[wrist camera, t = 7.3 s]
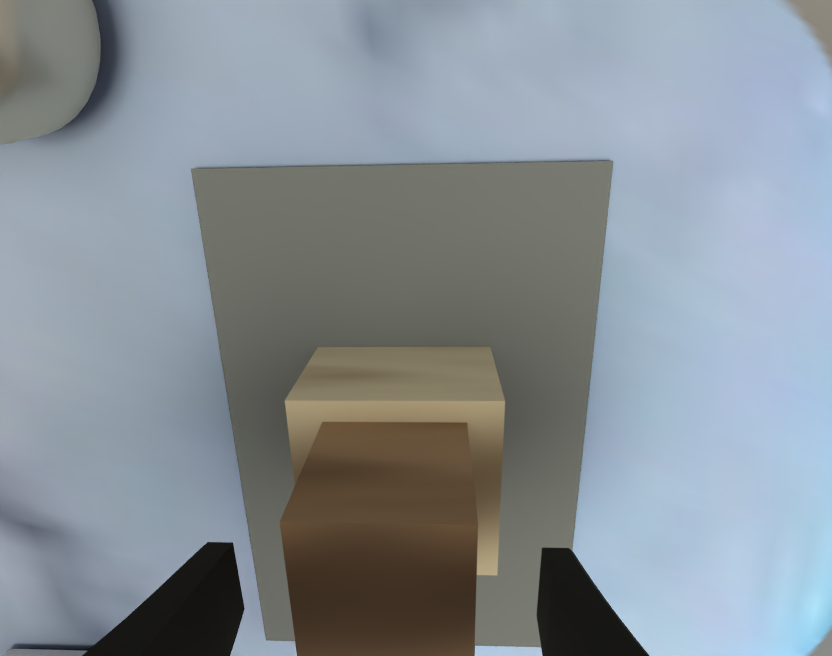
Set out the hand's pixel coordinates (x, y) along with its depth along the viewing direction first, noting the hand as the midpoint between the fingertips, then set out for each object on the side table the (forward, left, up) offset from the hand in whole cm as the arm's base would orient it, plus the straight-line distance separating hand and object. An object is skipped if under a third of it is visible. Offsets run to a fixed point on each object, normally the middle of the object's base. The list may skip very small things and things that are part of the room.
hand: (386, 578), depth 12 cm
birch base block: (0, 0, -7) cm, 7 cm away
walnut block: (0, 0, -3) cm, 3 cm away
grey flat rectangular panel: (-1, 0, -7) cm, 7 cm away
